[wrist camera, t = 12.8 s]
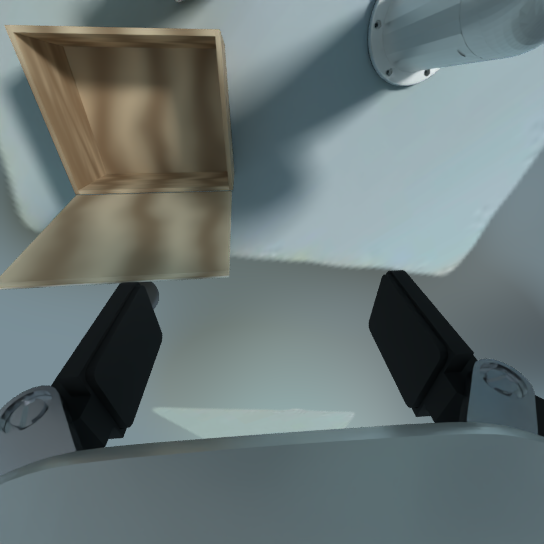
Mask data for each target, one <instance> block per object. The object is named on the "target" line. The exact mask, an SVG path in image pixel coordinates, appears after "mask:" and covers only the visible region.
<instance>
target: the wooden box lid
mask: <svg viewBox="0 0 544 544" xmlns="http://www.w3.org/2000/svg"><path fill="white" fill-rule="evenodd" d="M231 204H232V192H231V191H213V192H178V193H142V194H107V195H76V196H75V197H74V198H73V199H72V200H71V201H70V202H69V204H68V205H67V206H66V207H65V208H64V209H63V210H62V211H61V212H60V213H59V214H58V215H57V216H56V217H55V218H54V219H53V221H52V222H51V223H50V224H49V225H48V226H47V227H46V228H45V229H44V230H43V231H42V232H41V233H40V234H39V235H38V236H37V238H36V239H35V240H34V241H33V242H32V243H31V244H30V245H29V246H28V247H27V248H26V249H25V250H24V251H23V252H22V253H21V255H20V256H19V257H18V258H17V259H16V260H15V261H14V262H13V263H12V264H11V265H10V266H9V267H8V268H7V269H6V270H5V272H4V273H3V274H2V275H1V276H0V290H3V289H20V288H39V287H57V286H76V285H93V284H112V283H122V282H139V283H140V285H143V286H145V288H146V291H147V293H148V296H149V299H150V302H151V304H152V307H153V309H154V308H155V307H156V305H157V304H158V301H159V292H158V289H157V287H156V286H155V285H154V283H152V282H151V281H166V280H185V279H203V278H222V277H229V269H230V268H229V267H230V264H229V263H230V235H231Z"/></svg>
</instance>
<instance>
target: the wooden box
mask: <svg viewBox="0 0 544 544" xmlns="http://www.w3.org/2000/svg"><path fill="white" fill-rule="evenodd" d="M5 28H6V30H7V33H8V35H9V37H10V40H11V42H12V44H13V47H14V49H15V52H16V54H17V56H18V59H19V61H20V63H21V66H22V68H23V71H24V73H25V75H26V78H27V80H28V82H29V85H30V87H31V90H32V92H33V94H34V97H35V99H36V101H37V104H38V106H39V109H40V111H41V113H42V116H43V118H44V121H45V123H46V125H47V128H48V130H49V132H50V135H51V137H52V140H53V142H54V144H55V147H56V149H57V151H58V154H59V156H60V159H61V161H62V163H63V166H64V168H65V170H66V173H67V175H68V178H69V180H70V182H71V185H72V187H73V189H74V192H75V194H76V195H78V194H114V193H149V192H185V191H220V190H233V184H234V162H233V149H232V136H231V123H230V110H229V97H228V84H227V71H226V58H225V45H224V41H223V38H222V35H221V32H220V30H217V29H170V28H122V27H75V26H28V25H5Z"/></svg>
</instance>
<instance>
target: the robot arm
mask: <svg viewBox="0 0 544 544" xmlns="http://www.w3.org/2000/svg"><path fill="white" fill-rule="evenodd" d="M375 24H376V25H377V27H376V28H375ZM542 44H544V0H377V1H376V3H375V6H374V9H373V12H372V15H371V19H370V24H369V30H368V47H369V54H370V58H371V62H372V64H373V66H374V68H375V70H376V72H377V73H378V74H379V76H380V77H381V78H382V79H384V80H385V81H386V82H388V83H390V84H393V85H397V86H410V85H414V84H418V83H420V82H422V81H424V80H426V79H428V78H429V77H431V76H432V75H434V74H435V73H436V72H437V71H438V70H439V69H440V68H441V67H448V66H455V65H461V64H468V63H475V62H482V61H489V60H496V59H503V58H509V57H514V56H517V55H521V54H523V53H526V52H528V51H531V50H533V49H535V48H537V47H539V46H540V45H542ZM386 71H388V74H387V75H386ZM424 72H425V74H424ZM369 329H370V332H371V333H372V336H373V338H374V340H375V342H376V344H377V346H378V348H379V350H380V352H381V354H382V356H383V358H384V360H385V362H386V365H387V367H388V369H389V371H390V373H391V375H392V377H393V379H394V381H395V383H396V385H397V387H398V389H399V391H400V393H401V395H402V397H403V399H404V401H405V403H406V405H407V406H408V407H410V408H412V410H413V412H414V414H415V415H416V417H421V416H431V417H432V419H433V421H434V422H435V423H426V424H405V425H390V426H375V427H360V428H345V429H330V430H316V431H302V432H289V433H275V434H261V435H248V436H234V437H221V438H208V439H195V440H183V441H170V442H157V443H146V444H136V445H126V446H114V447H105V446H106V443H107V441H108V439H114V438H123V437H124V434H125V431H126V428H128V427H130V426H131V425H132V424H133V421H134V418H135V415H136V413H137V410H138V407H139V404H140V401H141V399H142V396H143V393H144V390H145V387H146V384H147V381H148V379H149V376H150V373H151V370H152V368H153V365H154V361H155V359H156V356H157V353H158V351H159V348H160V345H161V342H162V332H161V329H160V327H159V324H158V321H157V318H156V316H155V313H154V310H153V307H152V304H151V302H150V299H149V296H148V293H147V291H146V288H145V286H143V285H140V283H139V282H122V283H120V284H119V286H118V287H117V289H116V290H115V292H114V293H113V295H112V296H111V298H110V299H109V300H108V302H107V303H106V305H105V307H104V308H103V309H102V311H101V312H100V314H99V316H98V317H97V318H96V320H95V321H94V323H93V324H92V326H91V327H90V329H89V330H88V332H87V333H86V335H85V336H84V338H83V339H82V340H81V342H80V344H79V345H78V346H77V348H76V349H75V351H74V352H73V354H72V355H71V357H70V358H69V360H68V361H67V363H66V364H65V366H64V367H63V369H62V370H61V372H60V373H59V375H58V376H57V378H56V379H55V381H54V382H53V384H52V385H51V386H38V387H33V388H31V389H28V390H26V391H24V392H22V393H20V394H19V395H17V396H16V397H14V398H13V399H11V400H10V401H9V402H8V403H6V405H4V406H3V407H2V408H1V410H0V544H544V399H542V398H539V397H538V396H536V395H535V393H534V389H533V386H532V385H531V383H530V382H529V381H528V379H527V378H526V377H525V376H524V375H523V374H522V373H520V372H519V371H517V370H516V369H515V368H513V367H512V366H509V365H507V364H506V363H504V362H501V361H498V360H495V359H487V358H486V359H480V360H477V359H476V358H475V357H474V355H473V354H474V352H473V351H472V350H471V349H470V348H469V346H468V345H467V344H466V343H465V342H464V341H463V340H462V338H461V337H460V336H459V335H458V333H457V332H456V331H455V330H454V329H453V327H452V326H451V325H450V324H449V323H448V321H447V320H446V319H445V318H444V317H443V316H442V314H441V313H440V312H439V311H438V310H437V308H436V307H435V306H434V305H433V304H432V302H431V301H430V300H429V299H428V298H427V296H426V295H425V294H424V293H423V292H422V291H421V290H420V288H419V287H418V286H417V285H416V283H414V281H413V280H412V279H411V277H410V276H409V275H408V274H407V273H406V272H405V271H403V270H398V271H388V272H387V273H386V275H383V276H382V279H381V282H380V286H379V289H378V292H377V296H376V299H375V303H374V306H373V309H372V313H371V316H370V320H369Z"/></svg>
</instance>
